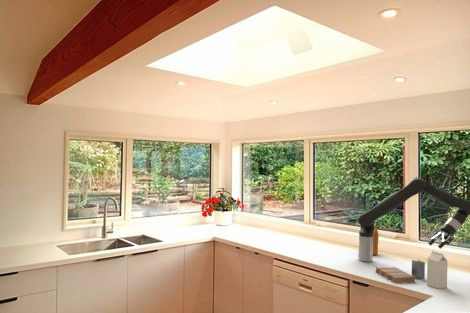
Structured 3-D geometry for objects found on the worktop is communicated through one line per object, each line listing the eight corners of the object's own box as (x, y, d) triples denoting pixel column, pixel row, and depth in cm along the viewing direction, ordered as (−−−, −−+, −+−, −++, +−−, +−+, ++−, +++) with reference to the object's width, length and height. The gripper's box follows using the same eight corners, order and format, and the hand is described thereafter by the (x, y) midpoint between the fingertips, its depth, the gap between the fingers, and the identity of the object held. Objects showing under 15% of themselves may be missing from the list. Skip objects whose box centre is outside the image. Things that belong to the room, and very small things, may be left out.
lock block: (411, 276, 216) (411, 259, 216) (419, 276, 217) (419, 259, 217) (416, 279, 211) (417, 261, 212) (424, 279, 212) (424, 261, 212)
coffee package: (365, 250, 279) (365, 223, 280) (379, 254, 270) (380, 225, 270) (358, 252, 273) (358, 224, 274) (373, 256, 264) (373, 226, 264)
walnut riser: (375, 272, 223) (375, 267, 223) (394, 271, 225) (395, 267, 225) (394, 282, 203) (394, 277, 203) (415, 282, 205) (415, 277, 205)
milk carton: (438, 289, 195) (439, 254, 195) (426, 284, 201) (427, 251, 202) (447, 287, 198) (447, 253, 198) (435, 283, 204) (436, 250, 204)
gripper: (439, 221, 227) (422, 239, 225) (455, 224, 213) (438, 244, 211) (446, 229, 227) (430, 247, 225) (463, 233, 213) (446, 253, 211)
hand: (434, 246), depth 218 cm, fingers open, 8 cm apart
